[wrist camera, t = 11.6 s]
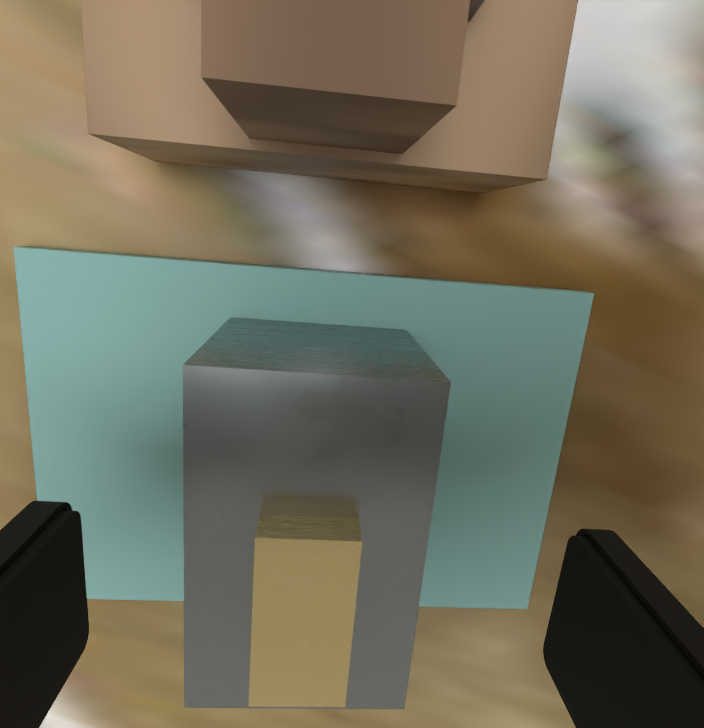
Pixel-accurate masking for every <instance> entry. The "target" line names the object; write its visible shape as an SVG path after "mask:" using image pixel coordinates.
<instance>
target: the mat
mask: <svg viewBox="0 0 704 728" xmlns="http://www.w3.org/2000/svg"><path fill="white" fill-rule="evenodd" d="M14 257H15V267H16V278H17V289H18V300H19V310H20V321H21V332H22V343H23V353H24V364H25V375H26V385H27V396H28V407H29V418H30V428H31V439H32V450H33V461H34V471H35V482H36V493H37V501H53V502H67V503H69V504H70V505H71V507H72V511H78V512H79V513H80V516H81V524H82V538H83V552H84V566H85V580H86V594H87V599H115V600H158V601H184V520H183V364H184V363H185V362H186V361H187V360H188V359H189V358H190V357H191V356H192V355H193V354H194V353H195V352H196V351H197V350H198V349H199V348H200V347H201V346H202V345H203V344H204V343H205V342H206V341H207V340H208V339H209V338H210V337H211V336H212V335H213V334H214V333H215V332H216V331H217V330H218V329H219V328H220V327H221V326H222V325H223V324H224V323H225V322H226V321H227V320H228V319H229V318H230V317H235V318H249V319H263V320H277V321H291V322H305V323H319V324H333V325H347V326H361V327H375V328H389V329H403V330H407V331H408V332H409V333H410V334H411V336H412V337H413V338H414V339H415V340H416V341H417V343H418V344H419V345H420V346H421V347H422V348H423V350H424V351H425V352H426V353H427V354H428V355H429V357H430V358H431V359H432V360H433V361H434V363H435V364H436V365H437V366H438V367H439V368H440V370H441V371H442V372H443V373H444V374H445V375H446V377H447V378H448V379H449V380H450V381H451V386H450V393H449V400H448V407H447V414H446V421H445V428H444V435H443V442H442V449H441V456H440V463H439V470H438V477H437V484H436V491H435V497H434V504H433V511H432V518H431V525H430V532H429V539H428V546H427V553H426V560H425V567H424V574H423V581H422V588H421V595H420V602H419V607H455V608H497V609H527V608H528V603H529V599H530V594H531V589H532V585H533V580H534V575H535V570H536V566H537V561H538V556H539V552H540V547H541V542H542V537H543V533H544V528H545V523H546V519H547V514H548V509H549V505H550V500H551V495H552V490H553V486H554V481H555V476H556V472H557V467H558V462H559V458H560V453H561V448H562V443H563V439H564V434H565V429H566V425H567V420H568V415H569V410H570V406H571V401H572V396H573V392H574V387H575V382H576V378H577V373H578V368H579V363H580V359H581V354H582V349H583V345H584V340H585V335H586V331H587V326H588V321H589V316H590V312H591V307H592V302H593V298H594V293H591V292H586V291H579V290H567V289H554V288H542V287H529V286H517V285H504V284H492V283H480V282H467V281H455V280H442V279H430V278H417V277H405V276H392V275H380V274H367V273H355V272H342V271H330V270H318V269H305V268H293V267H280V266H268V265H255V264H243V263H230V262H218V261H205V260H193V259H180V258H168V257H156V256H143V255H131V254H118V253H106V252H93V251H81V250H68V249H56V248H43V247H31V246H21V247H14Z"/></svg>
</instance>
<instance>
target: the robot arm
mask: <svg viewBox="0 0 704 728" xmlns="http://www.w3.org/2000/svg"><path fill="white" fill-rule="evenodd" d="M88 634H89V622H88V608H87V594H86V580H85V566H84V552H83V538H82V524H81V516H80V513H79V512H78V511H72V507H71V505H70V504H69V503H67V502H53V501H33V502H31V503H30V504H28V505H27V506H26V507H25V508H24V509H23V510H22V511H21V512H20V513H19V514H18V515H17V516H15V517H14V518H13V519H12V520H11V521H10V522H9V523H8V524H7V525H6V526H5V527H3V528H2V529H1V530H0V728H39V727H40V725H41V723H42V721H43V720H44V718H45V716H46V715H47V713H48V711H49V709H50V708H51V706H52V704H53V703H54V701H55V699H56V697H57V696H58V694H59V692H60V691H61V689H62V687H63V685H64V684H65V682H66V680H67V679H68V677H69V675H70V673H71V672H72V670H73V668H74V667H75V665H76V663H77V661H78V660H79V658H80V656H81V655H82V653H83V651H84V649H85V646H86V643H87V639H88ZM543 654H544V660H545V664H546V666H547V669H548V671H549V673H550V675H551V677H552V679H553V681H554V683H555V685H556V687H557V689H558V691H559V694H560V696H561V698H562V700H563V702H564V704H565V706H566V708H567V710H568V712H569V714H570V716H571V718H572V720H573V722H574V724H575V726H576V728H704V628H703V627H702V626H701V625H700V624H699V623H698V622H697V621H696V620H695V618H694V617H693V616H692V615H691V614H690V613H689V612H688V611H687V610H686V609H685V608H684V607H683V605H682V604H681V603H680V602H679V601H678V600H677V599H676V598H675V597H674V596H673V595H672V594H671V592H670V591H669V590H668V589H667V588H666V587H665V586H664V585H663V584H662V583H661V582H660V581H659V579H658V578H657V577H656V576H655V575H654V574H653V573H652V572H651V571H650V570H649V569H648V568H647V566H646V565H645V564H644V563H643V562H642V561H641V560H640V559H639V558H638V557H637V556H636V555H635V553H634V552H633V551H632V550H631V549H630V548H629V547H628V546H627V545H626V544H625V543H624V542H623V541H622V539H621V538H620V537H619V536H618V535H617V534H616V533H615V532H613V531H611V530H598V529H581V530H579V531H578V532H577V534H576V536H572V537H570V538H569V540H568V543H567V547H566V552H565V556H564V560H563V564H562V569H561V573H560V577H559V581H558V586H557V590H556V594H555V599H554V603H553V607H552V611H551V616H550V620H549V624H548V629H547V633H546V637H545V641H544V647H543Z"/></svg>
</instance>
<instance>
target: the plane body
mask: <svg viewBox="0 0 704 728" xmlns="http://www.w3.org/2000/svg"><path fill="white" fill-rule="evenodd" d="M577 3H578V0H81V6H82V26H83V45H84V65H85V84H86V103H87V123H88V134H90V135H93V136H95V137H98V138H100V139H102V140H105V141H107V142H110V143H112V144H115V145H117V146H120V147H122V148H125V149H127V150H129V151H132V152H134V153H137V154H139V155H142V156H144V157H147V158H149V159H151V160H154V161H158V162H168V163H179V164H189V165H200V166H210V167H220V168H231V169H241V170H252V171H262V172H273V173H283V174H293V175H304V176H314V177H325V178H335V179H345V180H356V181H366V182H377V183H387V184H398V185H408V186H418V187H429V188H439V189H450V190H460V191H471V192H481V193H485V192H489V191H494V190H499V189H503V188H508V187H513V186H517V185H522V184H526V183H531V182H536V181H540V180H545V179H547V173H548V168H549V162H550V156H551V151H552V145H553V139H554V134H555V128H556V122H557V117H558V111H559V105H560V100H561V94H562V88H563V83H564V77H565V71H566V66H567V60H568V54H569V49H570V43H571V37H572V32H573V26H574V20H575V15H576V9H577Z"/></svg>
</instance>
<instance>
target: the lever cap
mask: <svg viewBox="0 0 704 728" xmlns="http://www.w3.org/2000/svg"><path fill="white" fill-rule="evenodd" d="M450 386H451V381H450V380H449V379H448V378H447V377H446V375H445V374H444V373H443V372H442V371H441V370H440V368H439V367H438V366H437V365H436V364H435V363H434V361H433V360H432V359H431V358H430V357H429V355H428V354H427V353H426V352H425V351H424V350H423V348H422V347H421V346H420V345H419V344H418V343H417V341H416V340H415V339H414V338H413V337H412V336H411V334H410V333H409V332H408V331H407V330H403V329H389V328H375V327H361V326H347V325H333V324H319V323H305V322H291V321H277V320H263V319H249V318H235V317H230V318H229V319H228V320H227V321H226V322H225V323H224V324H223V325H222V326H221V327H220V328H219V329H218V330H217V331H216V332H215V333H214V334H213V335H212V336H211V337H210V338H209V339H208V340H207V341H206V342H205V343H204V344H203V345H202V346H201V347H200V348H199V349H198V350H197V351H196V352H195V353H194V354H193V355H192V356H191V357H190V358H189V359H188V360H187V361H186V362H185V363H184V364H183V520H184V699H185V708H325V709H404V706H405V699H406V692H407V685H408V678H409V671H410V664H411V657H412V650H413V644H414V637H415V630H416V623H417V616H418V609H419V602H420V595H421V588H422V581H423V574H424V567H425V560H426V553H427V546H428V539H429V532H430V525H431V518H432V511H433V504H434V497H435V491H436V484H437V477H438V470H439V463H440V456H441V449H442V442H443V435H444V428H445V421H446V414H447V407H448V400H449V393H450Z"/></svg>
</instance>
